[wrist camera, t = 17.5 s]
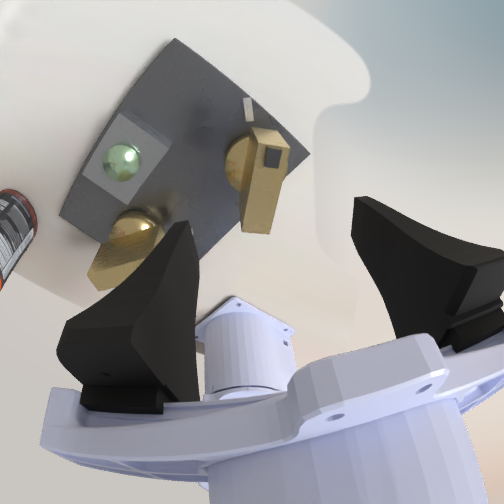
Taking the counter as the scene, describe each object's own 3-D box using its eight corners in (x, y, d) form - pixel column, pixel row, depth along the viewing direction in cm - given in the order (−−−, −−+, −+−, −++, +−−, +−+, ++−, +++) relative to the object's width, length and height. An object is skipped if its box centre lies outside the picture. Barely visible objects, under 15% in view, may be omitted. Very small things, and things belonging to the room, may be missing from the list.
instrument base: (306, 149, 20) (319, 163, 17) (174, 278, 26) (171, 302, 23) (177, 38, 14) (169, 34, 12) (63, 209, 20) (48, 228, 18)
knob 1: (122, 260, 22) (106, 305, 18) (99, 222, 20) (76, 264, 16) (176, 244, 22) (169, 291, 18) (156, 202, 20) (141, 244, 16)
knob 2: (275, 198, 21) (290, 239, 17) (220, 192, 20) (220, 233, 16) (291, 129, 17) (314, 154, 13) (230, 120, 17) (234, 141, 13)
